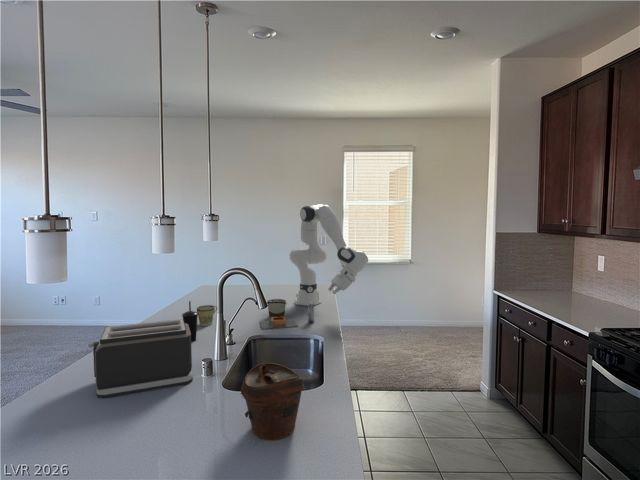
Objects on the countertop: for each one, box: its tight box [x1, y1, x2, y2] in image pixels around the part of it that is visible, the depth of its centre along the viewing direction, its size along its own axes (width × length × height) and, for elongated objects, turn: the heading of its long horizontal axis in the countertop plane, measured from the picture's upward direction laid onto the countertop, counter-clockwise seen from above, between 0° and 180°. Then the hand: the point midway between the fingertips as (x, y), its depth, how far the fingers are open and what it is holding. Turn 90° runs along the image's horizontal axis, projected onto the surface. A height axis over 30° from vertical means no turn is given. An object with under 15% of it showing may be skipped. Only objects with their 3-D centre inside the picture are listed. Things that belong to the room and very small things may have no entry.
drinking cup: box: [181, 300, 199, 343], centre depth 192 cm, size 8×8×20 cm
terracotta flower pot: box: [240, 362, 306, 441], centre depth 114 cm, size 18×20×18 cm
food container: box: [266, 298, 288, 318], centre depth 238 cm, size 12×6×10 cm, turn 84°
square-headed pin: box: [307, 302, 316, 324], centre depth 224 cm, size 4×4×11 cm
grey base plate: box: [259, 316, 299, 330], centre depth 220 cm, size 14×20×4 cm
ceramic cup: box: [196, 304, 218, 327], centre depth 222 cm, size 13×10×10 cm
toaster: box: [87, 318, 194, 399], centre depth 145 cm, size 19×35×20 cm, turn 113°
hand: (331, 291), depth 226 cm, fingers open, 8 cm apart
